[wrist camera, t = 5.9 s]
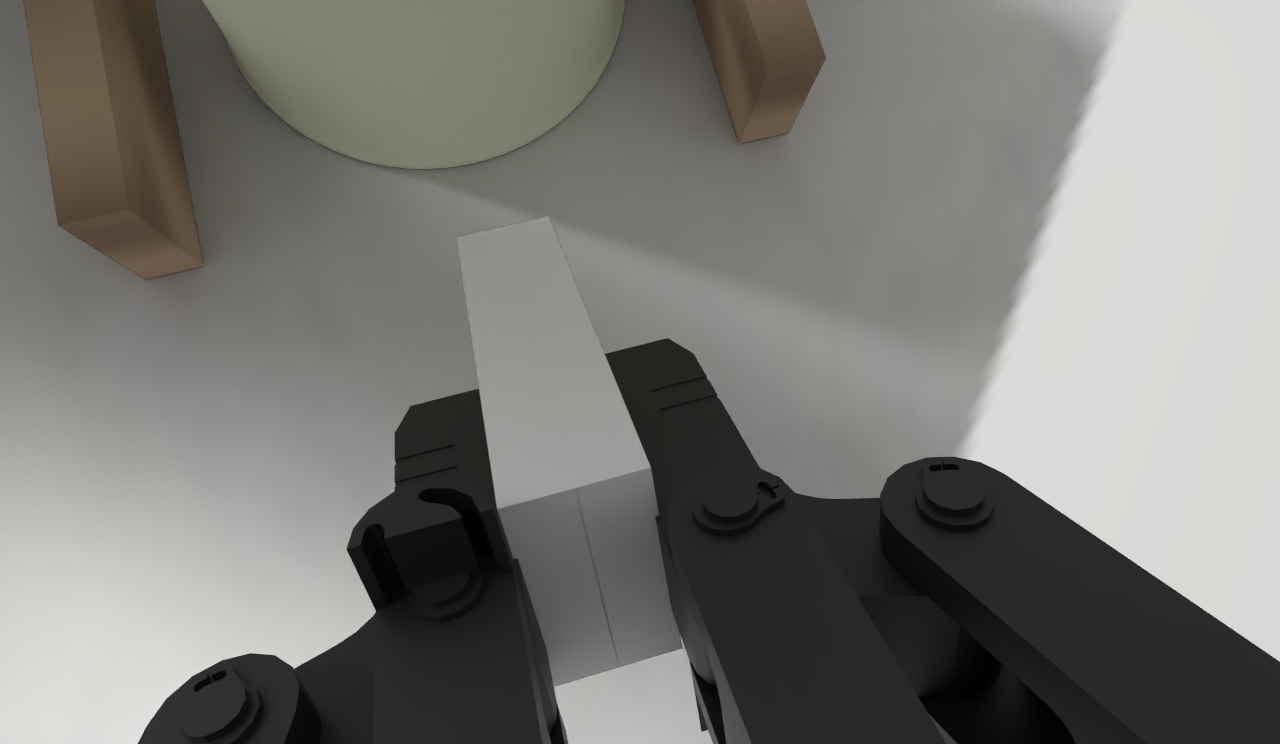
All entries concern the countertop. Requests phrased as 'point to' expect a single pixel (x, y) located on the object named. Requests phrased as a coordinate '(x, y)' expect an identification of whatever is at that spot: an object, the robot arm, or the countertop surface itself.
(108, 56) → the channel
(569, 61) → the can
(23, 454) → the countertop surface
